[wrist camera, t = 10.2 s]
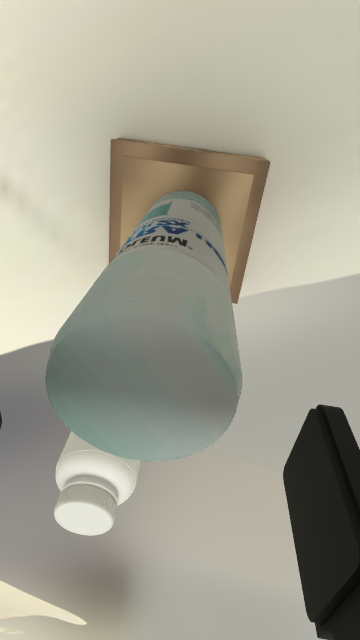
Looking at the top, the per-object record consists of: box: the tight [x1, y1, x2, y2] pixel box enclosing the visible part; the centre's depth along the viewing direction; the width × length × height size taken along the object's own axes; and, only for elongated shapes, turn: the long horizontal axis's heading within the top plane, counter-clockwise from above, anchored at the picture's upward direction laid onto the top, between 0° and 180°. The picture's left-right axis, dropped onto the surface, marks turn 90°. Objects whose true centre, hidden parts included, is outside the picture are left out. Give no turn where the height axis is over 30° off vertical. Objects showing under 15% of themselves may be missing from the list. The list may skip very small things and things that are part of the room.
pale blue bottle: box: [46, 191, 242, 461], centre depth 19 cm, size 6×6×20 cm
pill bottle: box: [54, 431, 140, 535], centre depth 36 cm, size 8×8×15 cm
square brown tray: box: [109, 138, 270, 304], centre depth 30 cm, size 12×12×3 cm
